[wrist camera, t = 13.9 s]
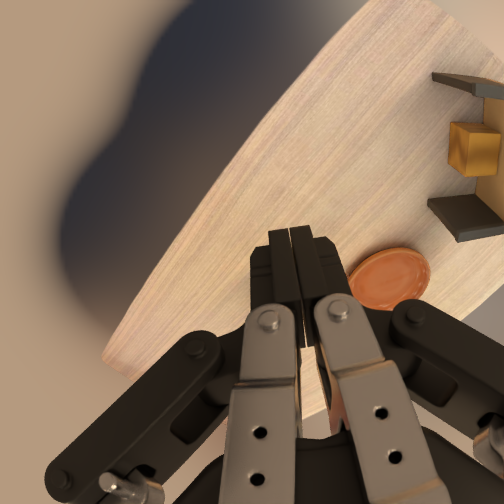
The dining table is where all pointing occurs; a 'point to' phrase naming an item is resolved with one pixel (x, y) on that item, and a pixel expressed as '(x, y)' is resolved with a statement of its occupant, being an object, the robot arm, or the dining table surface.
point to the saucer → (390, 278)
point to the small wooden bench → (488, 187)
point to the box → (473, 149)
